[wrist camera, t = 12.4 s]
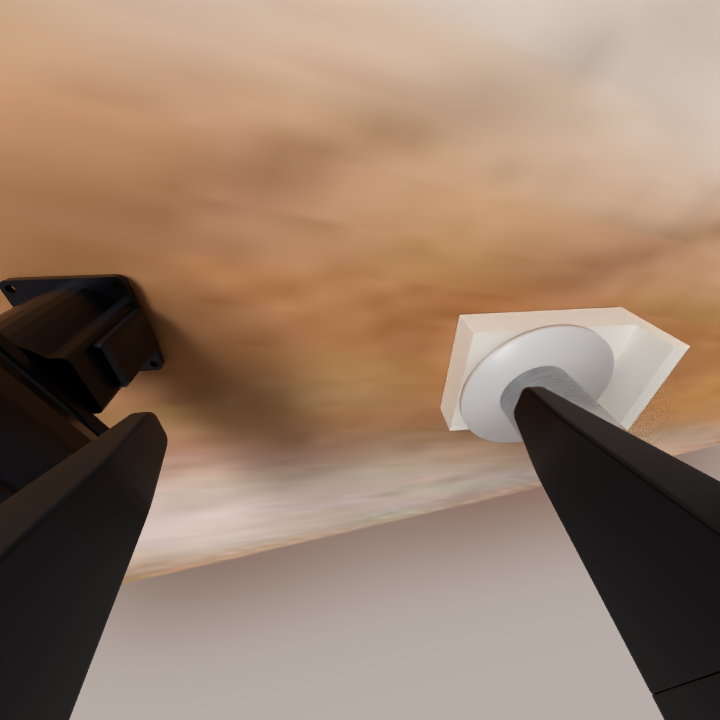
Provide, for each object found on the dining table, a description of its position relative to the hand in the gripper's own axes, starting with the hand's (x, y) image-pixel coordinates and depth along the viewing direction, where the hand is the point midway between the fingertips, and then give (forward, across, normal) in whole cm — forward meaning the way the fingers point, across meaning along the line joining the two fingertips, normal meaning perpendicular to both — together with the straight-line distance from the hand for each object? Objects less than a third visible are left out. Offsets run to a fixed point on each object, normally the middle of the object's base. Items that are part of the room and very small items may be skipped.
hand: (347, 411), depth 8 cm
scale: (+13, -14, +9) cm, 21 cm away
